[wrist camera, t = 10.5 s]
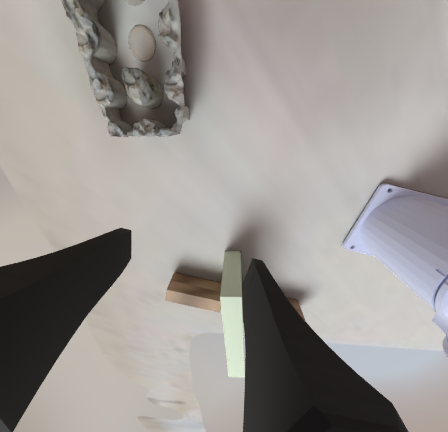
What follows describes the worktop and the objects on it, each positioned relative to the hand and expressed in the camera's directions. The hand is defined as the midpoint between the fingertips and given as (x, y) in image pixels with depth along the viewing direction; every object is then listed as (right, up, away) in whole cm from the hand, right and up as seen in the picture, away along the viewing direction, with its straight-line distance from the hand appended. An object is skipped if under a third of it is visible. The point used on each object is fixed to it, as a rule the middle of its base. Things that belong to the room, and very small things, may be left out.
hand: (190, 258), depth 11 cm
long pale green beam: (+4, -8, +15) cm, 18 cm away
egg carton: (-5, +15, +5) cm, 17 cm away
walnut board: (+4, -8, +15) cm, 18 cm away
